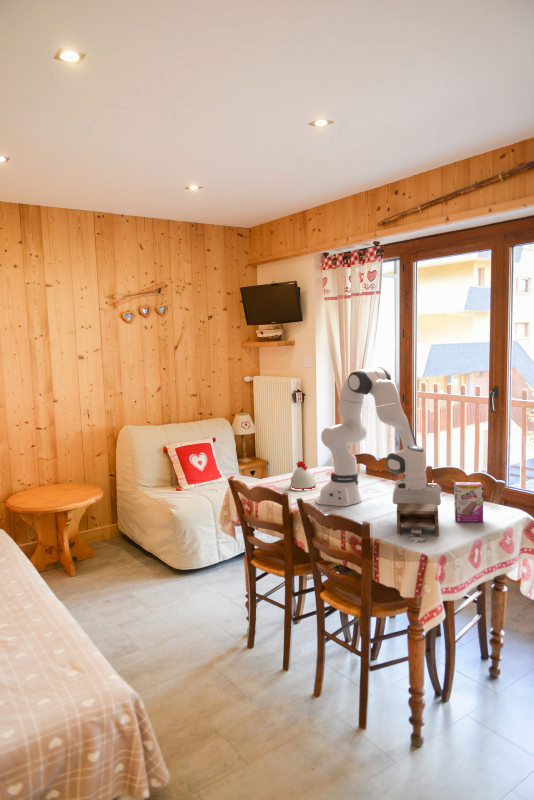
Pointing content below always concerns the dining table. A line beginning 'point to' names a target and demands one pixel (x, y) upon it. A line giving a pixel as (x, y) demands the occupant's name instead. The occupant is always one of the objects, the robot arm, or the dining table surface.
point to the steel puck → (417, 537)
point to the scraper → (416, 529)
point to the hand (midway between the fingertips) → (416, 514)
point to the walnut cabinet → (417, 515)
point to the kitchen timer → (302, 478)
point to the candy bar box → (468, 501)
